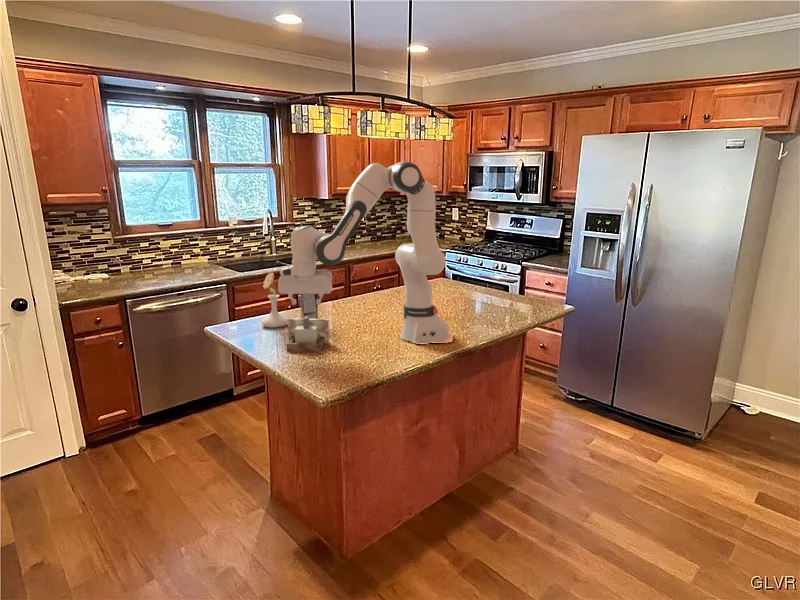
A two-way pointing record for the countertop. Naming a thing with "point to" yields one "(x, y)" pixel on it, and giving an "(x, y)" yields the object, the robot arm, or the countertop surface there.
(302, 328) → the cube with grey handle
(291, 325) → the tan lidded box
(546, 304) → the countertop surface
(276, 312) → the flower in vase
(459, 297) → the countertop surface
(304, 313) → the coffee box
